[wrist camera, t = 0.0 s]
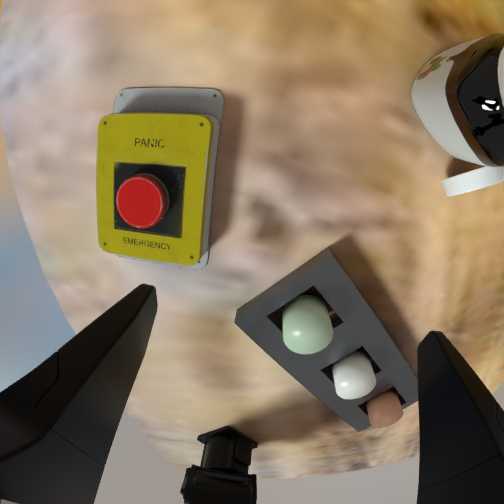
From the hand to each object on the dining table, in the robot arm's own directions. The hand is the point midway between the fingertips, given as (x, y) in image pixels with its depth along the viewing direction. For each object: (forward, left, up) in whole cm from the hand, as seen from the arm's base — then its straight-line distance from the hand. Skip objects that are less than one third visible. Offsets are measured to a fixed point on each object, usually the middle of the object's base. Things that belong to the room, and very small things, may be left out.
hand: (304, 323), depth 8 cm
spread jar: (+17, -3, -16) cm, 23 cm away
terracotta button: (-4, -26, -14) cm, 30 cm away
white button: (-4, -17, -14) cm, 23 cm away
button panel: (-4, -17, -15) cm, 24 cm away
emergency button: (-6, +8, -16) cm, 19 cm away
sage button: (-4, -9, -14) cm, 17 cm away
